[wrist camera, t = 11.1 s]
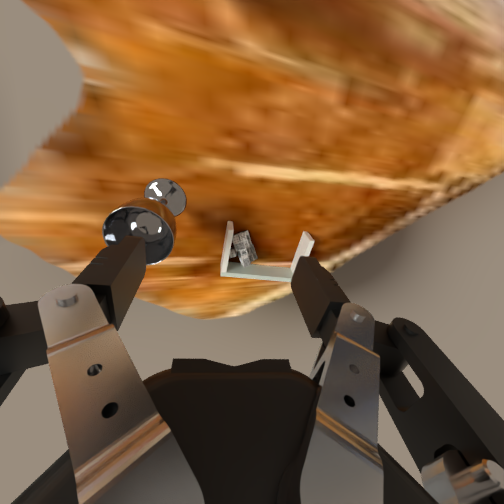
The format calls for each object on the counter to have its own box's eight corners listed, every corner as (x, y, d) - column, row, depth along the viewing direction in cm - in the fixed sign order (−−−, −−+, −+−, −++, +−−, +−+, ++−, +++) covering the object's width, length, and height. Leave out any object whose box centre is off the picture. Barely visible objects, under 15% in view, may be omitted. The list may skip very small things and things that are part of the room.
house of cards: (204, 234, 44) (201, 254, 38) (245, 220, 44) (250, 239, 37) (220, 267, 49) (220, 291, 42) (257, 256, 48) (263, 277, 42)
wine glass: (196, 191, 39) (184, 227, 26) (177, 226, 42) (158, 274, 29) (151, 166, 36) (114, 193, 23) (134, 206, 39) (93, 249, 26)
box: (227, 220, 43) (228, 229, 39) (307, 232, 46) (314, 241, 43) (220, 264, 48) (220, 276, 44) (293, 271, 51) (298, 282, 48)
